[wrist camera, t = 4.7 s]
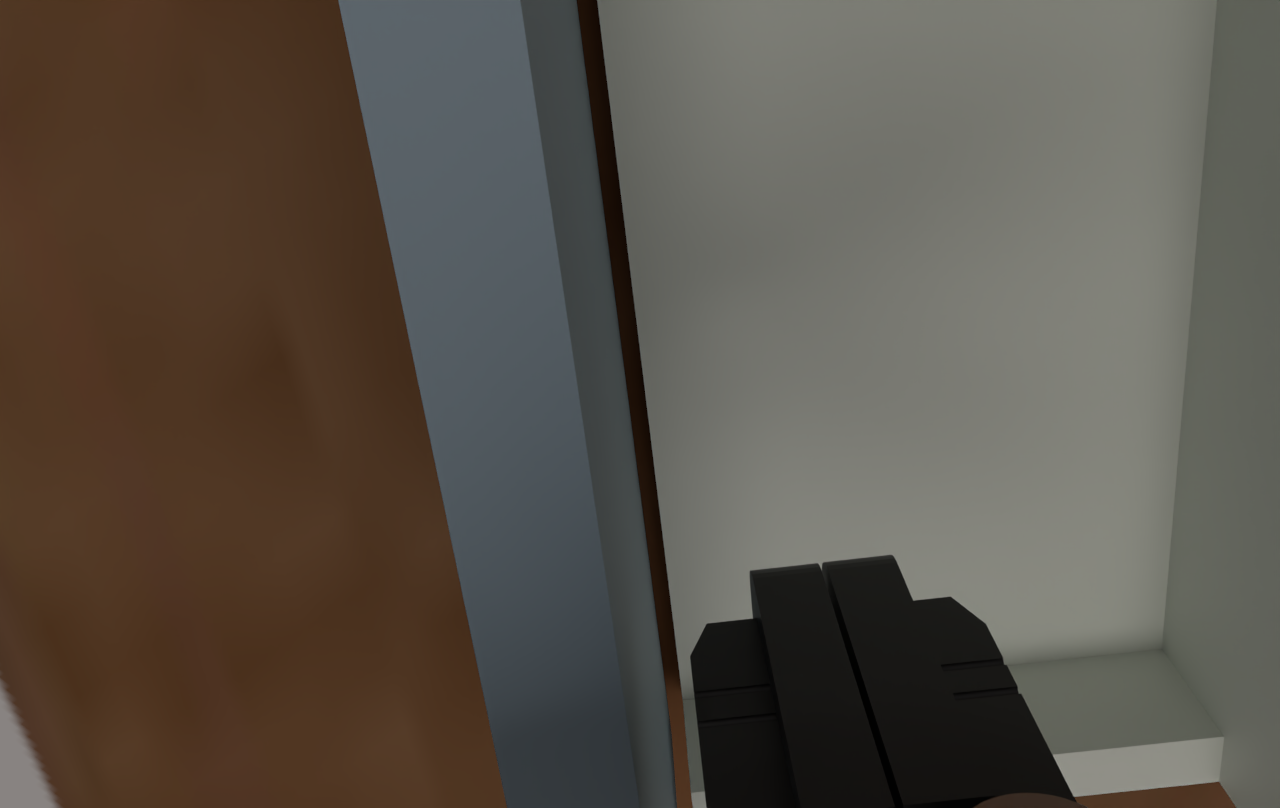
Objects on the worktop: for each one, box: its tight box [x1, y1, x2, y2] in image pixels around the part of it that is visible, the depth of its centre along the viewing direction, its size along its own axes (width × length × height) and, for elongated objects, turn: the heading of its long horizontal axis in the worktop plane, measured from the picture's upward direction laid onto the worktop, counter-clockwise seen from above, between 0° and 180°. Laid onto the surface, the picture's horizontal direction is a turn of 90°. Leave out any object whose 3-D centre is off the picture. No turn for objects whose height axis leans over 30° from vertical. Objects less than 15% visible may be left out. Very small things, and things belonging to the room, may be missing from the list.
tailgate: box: [338, 0, 677, 808], centre depth 15 cm, size 1×16×10 cm, turn 6°
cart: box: [597, 0, 1280, 808], centre depth 18 cm, size 10×17×7 cm, turn 6°
